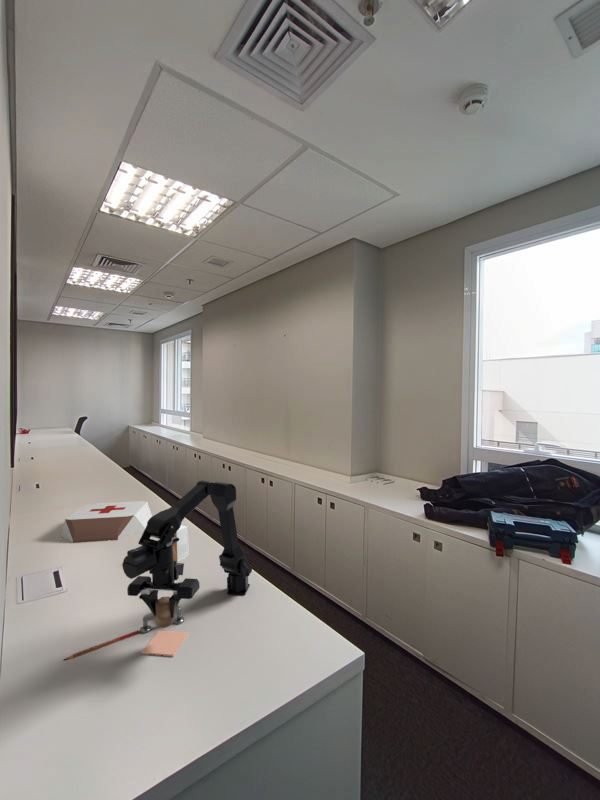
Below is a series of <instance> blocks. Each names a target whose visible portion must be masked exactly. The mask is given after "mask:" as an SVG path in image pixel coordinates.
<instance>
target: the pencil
mask: <svg viewBox="0 0 600 800" xmlns="http://www.w3.org/2000/svg"><path fill="white" fill-rule="evenodd" d="M138 634H140V630H138V629H137V630H134V631H133V632H129V633H128V634H127V633H126V634H123V635H122V636H118V637H116V638H114V639H111V640H107V641H105V642H102V643H100V644H99V643H98V644H97V645H95V646H92V647H89V648H86V649H83V650H80V651H78V652H75V653H73V654H71V655H69V656H67V657H65V658H64V659H63V661H68V660H71V659H75V658H77V657H80V656H83V655H85V654H88V653H90V652H94V651H96V650H98V649H102V648H103V647H107V646H109V645H112V644H114V643H117V642H119V641H123V640H125V639H128V638H130V637H133V636H135V635H138Z"/></svg>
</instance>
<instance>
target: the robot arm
mask: <svg viewBox="0 0 600 800" xmlns="http://www.w3.org/2000/svg"><path fill="white" fill-rule="evenodd" d="M208 496H209V497H210V499H211V503H212V504H213V505H214V506H215V507H214V508H216V509H217V511H218V518H219V524H220V525H219V526H220V530H221V531H220V532H221V536H222V537H221V538H222V543H223V550H222V553H221V554H219V555H218V559H219V567H221V568H222V570H223V571H224V573H227V577H226V589H227V591H226V594H228V595H238V596H239V595H240V596H241V595H242V596H245V595H246V594H247V592H248V590H249V588H250V587H251V584H250V583H249V576H250V574H251V573H252V571H253V565H252V564H251V563H249V562H248V560H247V557H246V553H245V551H244V550H243V549H242V548H241V545H240V544H239V538H238V532H237V524H236V519H235V513H234V505H235V503H236V501H237V488H236V486H235V485H234V484H233V483H228V482H227V483H226V482H219V481H215V482H213V481H210V480H209V481H208V480H203V479H202V480H199V481H197V483H196V485H194V486H193V487H192V489H191V490H189V491H188V492H187V493H185V494H184V495H183V496H182V497H181V498H180V499H178V500H177V502H175V503H174V504H173V505H172V506H171V507H169V508H167V509H163V510H161V511H159V512H157V513H156V514H154V515H152V517H151V518H150V519H149V520H148V522H147V526H146V528H145V530H144V531H143V532H142V535H141V537H140V538H139V540H138V545H140V546H138V547H135V548H133V549H129V550H127V553H126V556H124V558H123V561H122V564H121V565H122V570H123V573H124V574H125V576H126V577H127V578H129V579H131V580H132V581H131V582H130V583H129V584H128V586H127V595H128V596H129V597H130V596H131V597H132V596H133V597H137V596H138V595H139V596H138V598H139V600H142V601H143V602H144V604H146V607H148V609H149V610H150V611H151V614H153V615H154V616H155V617H156V605H155V603H156V601H157V600H158V599H159V598H158V594H159V591H163V592H165V591H166V592H172V595H171V596H169V597H170V599H169V604H170V612H171V617H172V618H174V619H175V618H176V617H175V616H176V615H177V614H176V611H177V607H178V606H179V603H180V601H181V600H182V599H183V600H190V599H193V598H194V596H195V595H196V593H197V592H198V591H199V590H200V581H199V579H197V578H190V577H189V578H186V577H185V578H184V580H183V581H180V582H175V581H178V580H179V578H180V577H179V576H184V567H185V563H184V562H183V563H182V562H176V561H174V559H173V543H175V542H177V541H179V538H177V537H176V536H175V535H174V534H175V533H176V532H177V531H178V529H179V528H180V526H181V525H182V523H183V521H184V519H185V518H186V517H187V516H188V515H190V514H191V512H192V511H193V510H195V509H196V508H197V507H198V505H200V504H201V503H202V502H203V501H204V500H205V499H206V498H207V497H208ZM151 537H152V538H155V539H157V540H155V539H152V538H151ZM146 572H148V573H149V574H151V577H150V576H149V575H148V576H145V575H144V574H145V573H146ZM142 574H143V575H142ZM133 579H134V580H133Z"/></svg>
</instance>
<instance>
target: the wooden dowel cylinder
mask: <svg viewBox="0 0 600 800" xmlns="http://www.w3.org/2000/svg"><path fill="white" fill-rule="evenodd" d="M170 597H171V596H162V598H161V597H160V598H158V600H157V601H156V603H155V605H156V619H155V622H156V624H155V626H156V627H158V628H168V627H169V626H172V624H174V619H175V617H174V618H172V617H171V612H170V604H169V599H170Z"/></svg>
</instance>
